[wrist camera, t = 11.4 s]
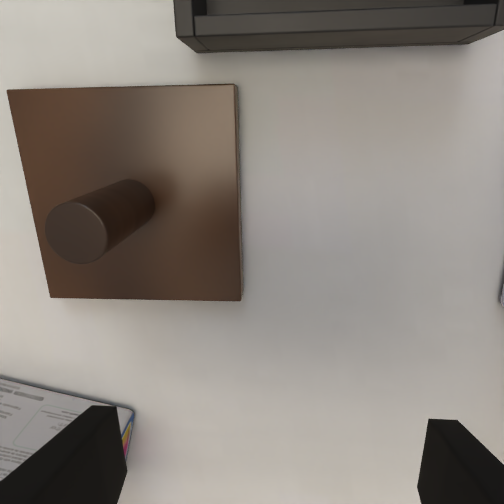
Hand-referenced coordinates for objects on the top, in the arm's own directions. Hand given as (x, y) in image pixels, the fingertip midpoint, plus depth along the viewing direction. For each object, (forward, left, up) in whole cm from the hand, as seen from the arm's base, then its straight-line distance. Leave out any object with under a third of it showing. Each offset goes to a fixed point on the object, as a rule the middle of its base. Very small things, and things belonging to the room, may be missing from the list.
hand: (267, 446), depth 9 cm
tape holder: (+6, -4, -9) cm, 12 cm away
